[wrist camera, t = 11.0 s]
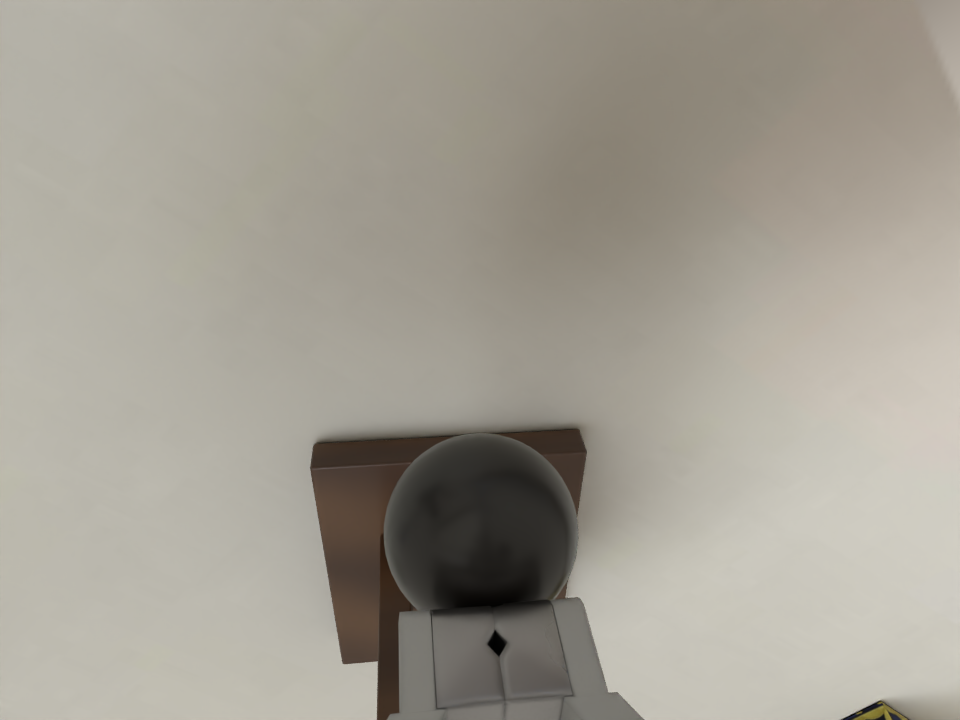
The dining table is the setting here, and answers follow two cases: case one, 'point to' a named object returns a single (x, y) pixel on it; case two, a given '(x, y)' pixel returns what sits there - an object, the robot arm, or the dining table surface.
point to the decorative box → (877, 713)
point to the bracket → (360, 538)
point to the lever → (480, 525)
